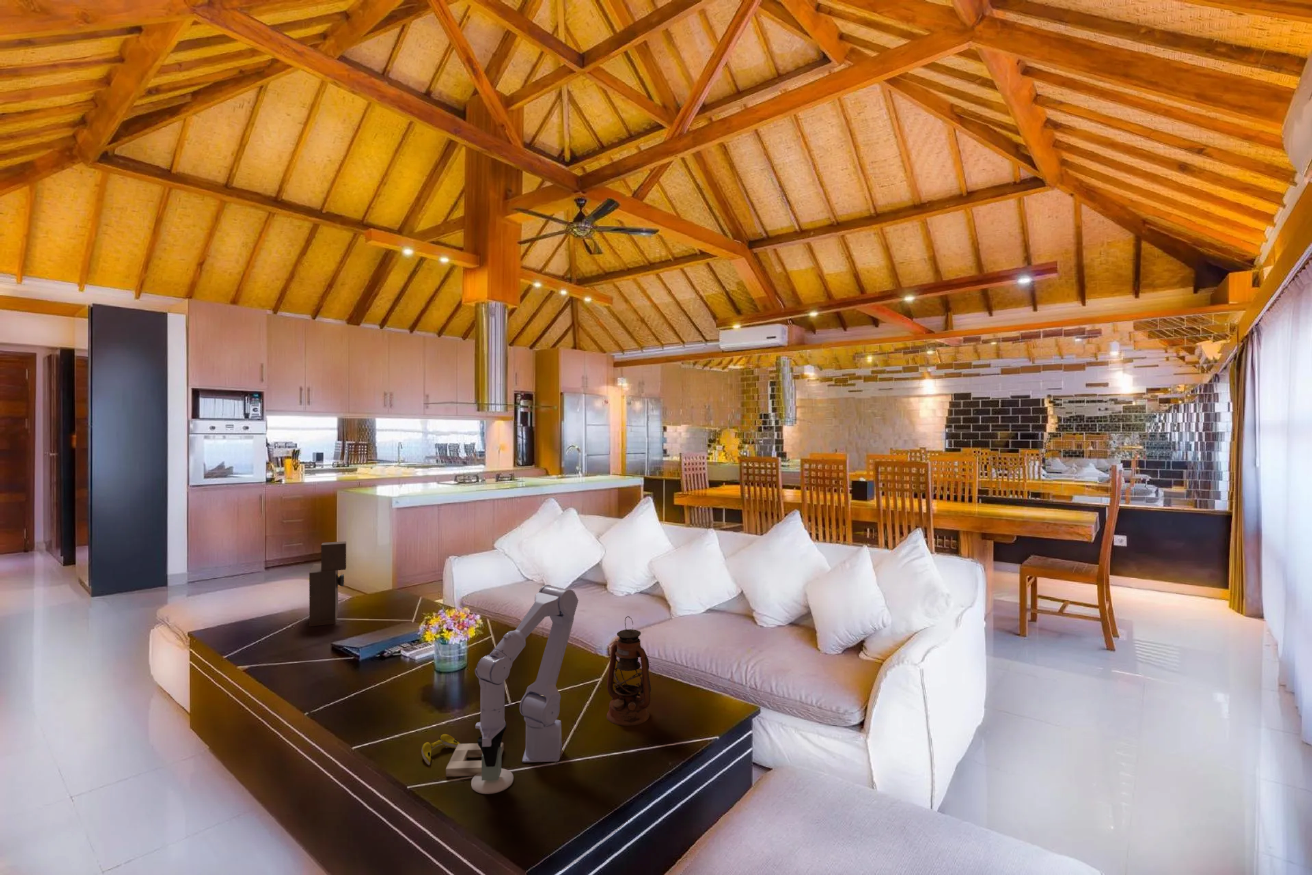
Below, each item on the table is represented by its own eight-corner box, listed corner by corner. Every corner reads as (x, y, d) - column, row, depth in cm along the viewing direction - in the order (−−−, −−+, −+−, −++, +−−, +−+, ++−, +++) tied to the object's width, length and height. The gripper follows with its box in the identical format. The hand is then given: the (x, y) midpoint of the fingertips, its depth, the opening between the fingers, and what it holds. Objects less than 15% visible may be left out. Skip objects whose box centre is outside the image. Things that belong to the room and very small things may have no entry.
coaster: (516, 769, 157) (516, 767, 157) (509, 793, 147) (509, 790, 147) (476, 771, 156) (476, 768, 156) (466, 794, 146) (466, 792, 146)
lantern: (592, 715, 186) (593, 616, 186) (620, 700, 197) (620, 606, 196) (636, 732, 176) (637, 628, 176) (663, 715, 187) (663, 617, 186)
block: (501, 770, 153) (501, 746, 153) (498, 779, 149) (498, 755, 149) (485, 771, 153) (485, 747, 153) (481, 780, 149) (481, 755, 149)
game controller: (446, 738, 170) (449, 728, 170) (459, 753, 167) (462, 743, 166) (414, 754, 162) (417, 743, 161) (427, 770, 159) (430, 759, 158)
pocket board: (503, 749, 166) (503, 742, 166) (494, 774, 154) (494, 766, 154) (458, 751, 165) (458, 743, 165) (445, 776, 153) (445, 768, 153)
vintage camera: (345, 622, 274) (345, 543, 273) (309, 626, 268) (308, 546, 267) (347, 610, 291) (347, 536, 290) (313, 613, 285) (313, 538, 285)
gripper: (482, 693, 158) (482, 745, 158) (468, 720, 143) (468, 777, 144) (510, 692, 158) (510, 745, 159) (499, 719, 144) (499, 776, 144)
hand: (492, 760), depth 151 cm, fingers closed on block, 4 cm apart
